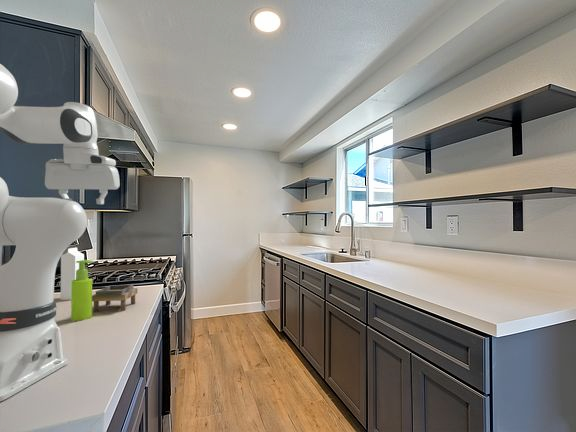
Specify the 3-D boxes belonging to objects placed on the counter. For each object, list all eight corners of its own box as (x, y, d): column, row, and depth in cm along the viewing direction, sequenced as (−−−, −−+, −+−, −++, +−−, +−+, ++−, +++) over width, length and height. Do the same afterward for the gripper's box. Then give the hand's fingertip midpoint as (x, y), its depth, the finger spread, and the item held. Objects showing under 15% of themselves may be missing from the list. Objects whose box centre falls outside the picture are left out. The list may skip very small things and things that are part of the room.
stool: (124, 311, 108) (125, 290, 108) (90, 312, 107) (90, 291, 107) (137, 302, 119) (137, 284, 119) (106, 303, 118) (106, 285, 118)
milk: (83, 296, 131) (84, 247, 131) (74, 299, 125) (75, 248, 125) (69, 296, 130) (70, 247, 131) (60, 300, 124) (61, 248, 125)
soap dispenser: (83, 321, 97) (84, 261, 98) (66, 320, 99) (67, 261, 99) (98, 315, 103) (98, 259, 103) (82, 314, 104) (82, 259, 105)
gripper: (37, 157, 85) (40, 204, 86) (111, 158, 87) (113, 204, 88) (52, 159, 91) (55, 203, 92) (121, 160, 93) (123, 203, 94)
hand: (84, 204), depth 90 cm, fingers open, 8 cm apart
